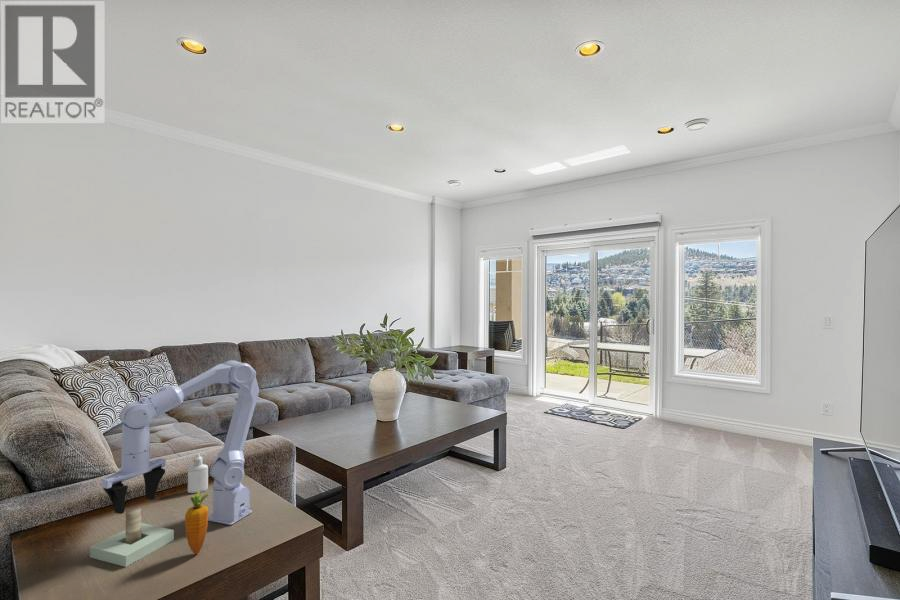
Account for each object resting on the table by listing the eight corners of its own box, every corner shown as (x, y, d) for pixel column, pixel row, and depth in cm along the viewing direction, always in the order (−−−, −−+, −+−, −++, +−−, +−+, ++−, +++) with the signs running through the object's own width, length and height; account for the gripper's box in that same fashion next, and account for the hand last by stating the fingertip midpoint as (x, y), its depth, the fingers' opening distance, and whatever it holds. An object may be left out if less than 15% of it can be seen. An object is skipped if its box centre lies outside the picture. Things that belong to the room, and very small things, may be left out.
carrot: (192, 548, 106) (193, 487, 107) (212, 548, 106) (213, 488, 106) (179, 560, 101) (180, 496, 102) (200, 560, 101) (200, 497, 101)
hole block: (173, 539, 110) (173, 530, 110) (125, 567, 99) (126, 556, 99) (139, 531, 114) (140, 522, 114) (89, 557, 102) (90, 546, 102)
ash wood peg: (144, 545, 107) (144, 508, 107) (131, 553, 104) (131, 513, 104) (135, 543, 108) (135, 506, 108) (122, 550, 105) (122, 511, 105)
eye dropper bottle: (201, 494, 136) (202, 456, 136) (185, 493, 137) (185, 455, 137) (210, 488, 141) (210, 451, 141) (194, 487, 141) (194, 451, 141)
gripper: (152, 440, 115) (151, 491, 115) (92, 459, 101) (92, 516, 101) (171, 443, 113) (171, 494, 113) (114, 462, 99) (113, 521, 99)
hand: (135, 505), depth 107 cm, fingers open, 7 cm apart
